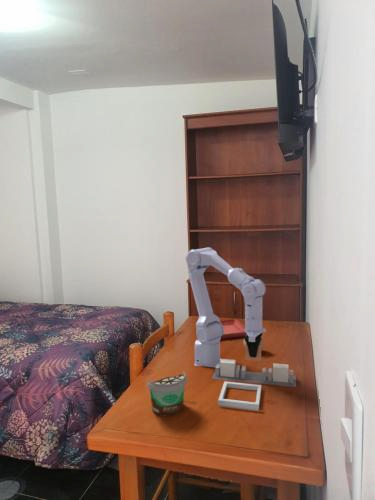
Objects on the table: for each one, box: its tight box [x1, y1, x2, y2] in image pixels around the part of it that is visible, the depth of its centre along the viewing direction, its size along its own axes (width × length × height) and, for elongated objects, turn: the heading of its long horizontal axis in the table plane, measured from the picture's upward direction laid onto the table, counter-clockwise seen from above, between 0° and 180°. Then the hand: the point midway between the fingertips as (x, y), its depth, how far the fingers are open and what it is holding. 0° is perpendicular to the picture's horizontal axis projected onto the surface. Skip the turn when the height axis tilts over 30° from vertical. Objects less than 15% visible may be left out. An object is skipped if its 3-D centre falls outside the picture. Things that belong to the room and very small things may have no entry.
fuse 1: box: [220, 358, 237, 377], centre depth 133 cm, size 5×3×5 cm, turn 76°
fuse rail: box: [211, 363, 297, 388], centre depth 131 cm, size 28×8×4 cm, turn 76°
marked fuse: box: [245, 343, 262, 362], centre depth 129 cm, size 5×3×5 cm, turn 76°
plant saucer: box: [208, 318, 246, 340], centre depth 177 cm, size 18×18×3 cm
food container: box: [146, 371, 188, 417], centre depth 111 cm, size 12×6×10 cm, turn 117°
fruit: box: [243, 335, 265, 351], centre depth 153 cm, size 8×8×8 cm
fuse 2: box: [272, 362, 290, 383], centre depth 128 cm, size 5×3×5 cm, turn 76°
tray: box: [217, 380, 262, 412], centre depth 118 cm, size 12×12×2 cm
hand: (253, 354), depth 129 cm, fingers closed on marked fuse, 3 cm apart
